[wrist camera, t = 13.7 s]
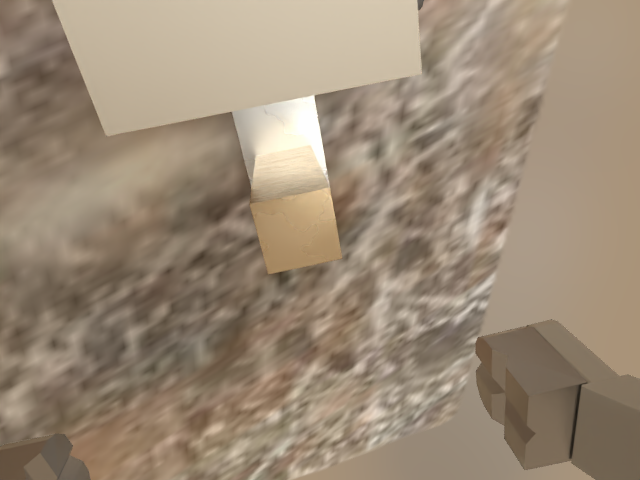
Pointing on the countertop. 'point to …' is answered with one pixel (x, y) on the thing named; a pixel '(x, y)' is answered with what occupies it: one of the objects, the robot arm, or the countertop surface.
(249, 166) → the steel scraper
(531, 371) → the robot arm
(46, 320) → the countertop surface
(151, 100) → the notched cream block
